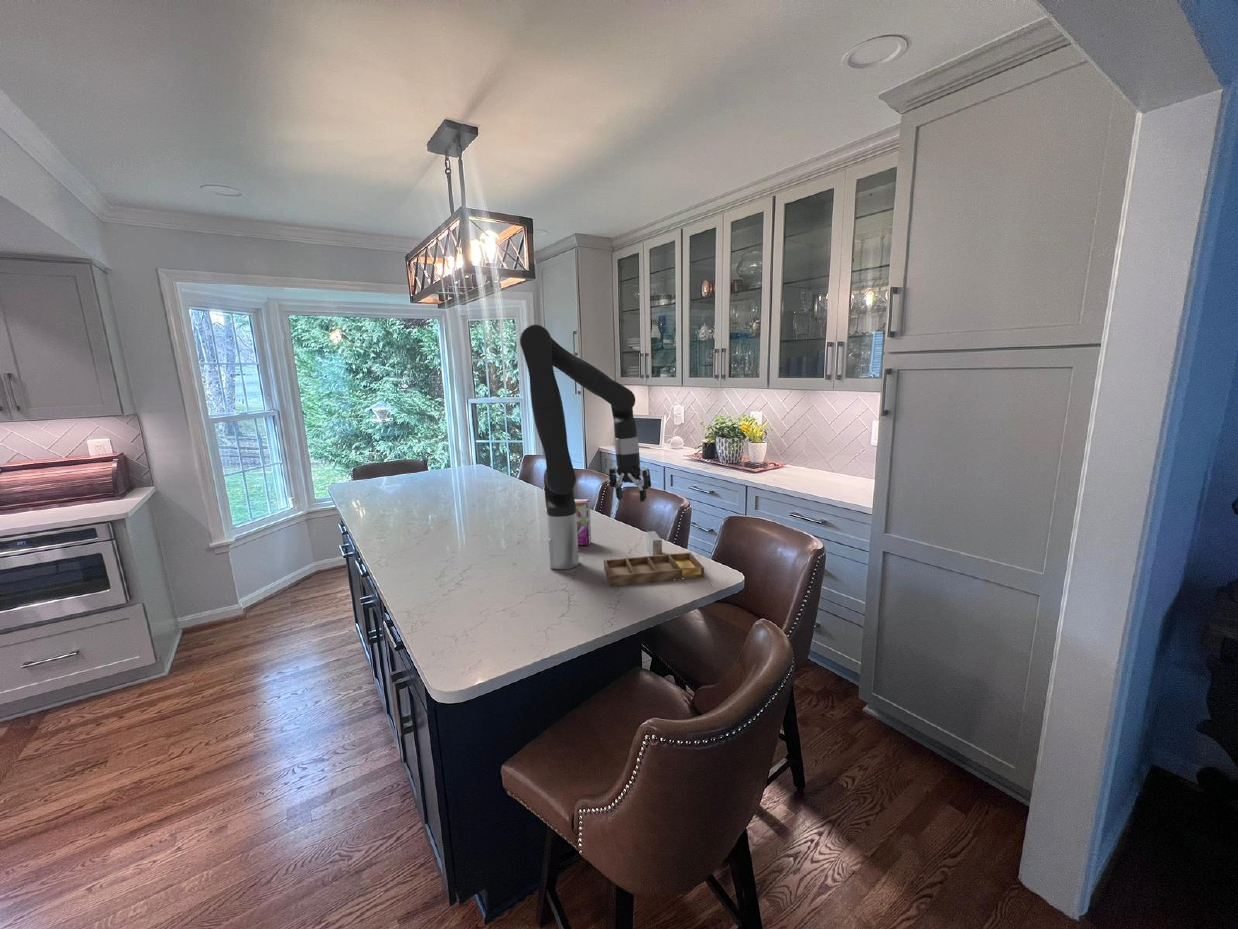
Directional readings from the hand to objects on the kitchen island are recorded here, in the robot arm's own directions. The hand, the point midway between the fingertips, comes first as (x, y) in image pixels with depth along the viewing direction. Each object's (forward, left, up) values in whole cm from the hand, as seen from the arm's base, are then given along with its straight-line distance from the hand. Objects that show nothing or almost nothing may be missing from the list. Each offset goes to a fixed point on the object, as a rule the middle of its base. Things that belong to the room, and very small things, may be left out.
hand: (631, 500), depth 161 cm
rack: (+3, -14, -20) cm, 25 cm away
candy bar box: (-18, +20, -20) cm, 33 cm away
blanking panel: (+7, +1, -20) cm, 21 cm away
